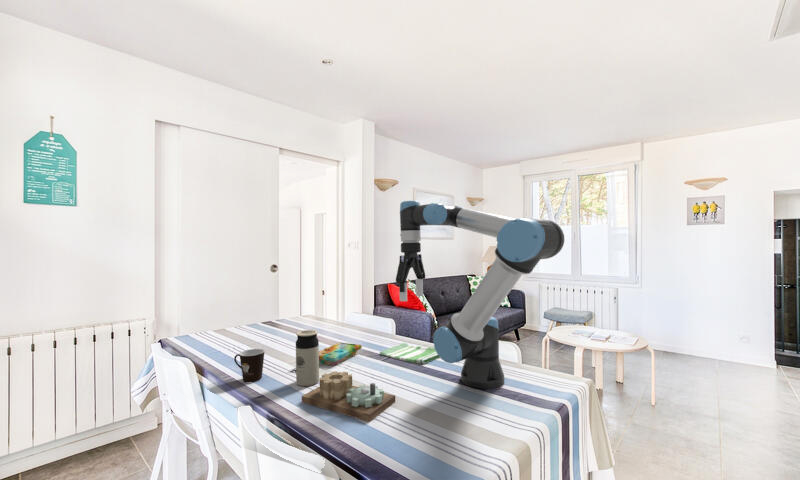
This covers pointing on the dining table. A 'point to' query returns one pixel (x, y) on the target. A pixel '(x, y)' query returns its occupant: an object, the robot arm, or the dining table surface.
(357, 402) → the gear
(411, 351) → the dish towel
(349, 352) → the puzzle game
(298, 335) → the travel mug
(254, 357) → the coffee mug
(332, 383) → the beech gear
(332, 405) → the gear board
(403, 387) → the dining table surface
